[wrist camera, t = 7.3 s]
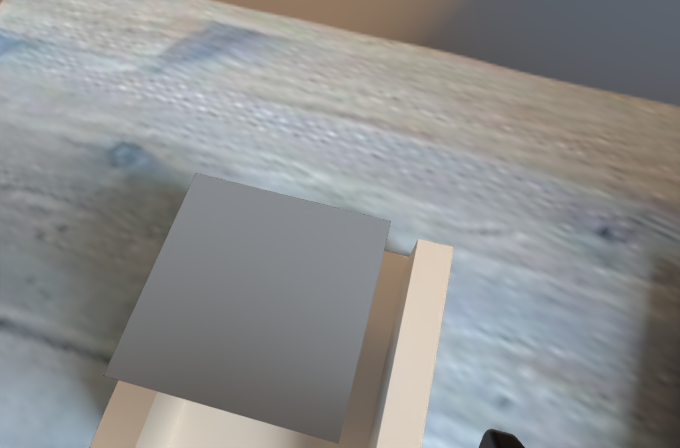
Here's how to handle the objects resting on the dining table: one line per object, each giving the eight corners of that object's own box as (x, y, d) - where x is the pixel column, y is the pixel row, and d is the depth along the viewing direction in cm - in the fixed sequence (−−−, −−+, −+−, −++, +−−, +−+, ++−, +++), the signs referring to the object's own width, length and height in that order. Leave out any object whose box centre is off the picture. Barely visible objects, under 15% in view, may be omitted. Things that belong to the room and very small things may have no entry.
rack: (380, 556, 14) (397, 594, 11) (124, 478, 15) (69, 492, 12) (433, 268, 19) (456, 234, 15) (228, 217, 19) (208, 174, 16)
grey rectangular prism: (332, 435, 15) (338, 444, 7) (220, 402, 16) (103, 375, 7) (360, 320, 17) (390, 221, 9) (257, 294, 17) (195, 173, 9)
